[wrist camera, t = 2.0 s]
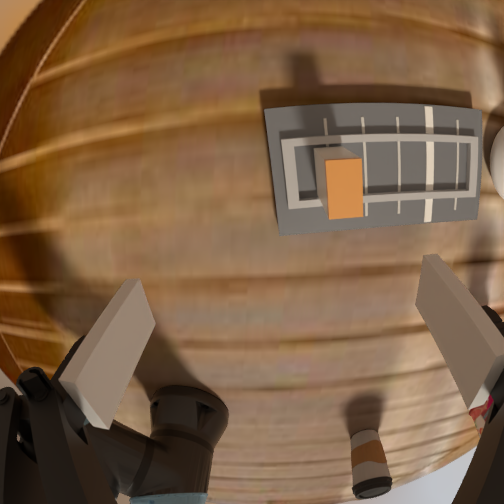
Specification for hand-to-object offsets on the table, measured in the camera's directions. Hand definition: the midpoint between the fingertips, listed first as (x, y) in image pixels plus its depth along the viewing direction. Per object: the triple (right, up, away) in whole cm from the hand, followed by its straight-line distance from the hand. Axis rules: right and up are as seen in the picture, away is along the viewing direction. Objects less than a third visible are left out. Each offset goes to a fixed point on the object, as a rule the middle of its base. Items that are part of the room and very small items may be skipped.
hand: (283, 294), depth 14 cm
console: (+14, +12, +19) cm, 26 cm away
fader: (+7, +10, +18) cm, 21 cm away
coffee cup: (+23, -39, +43) cm, 63 cm away
